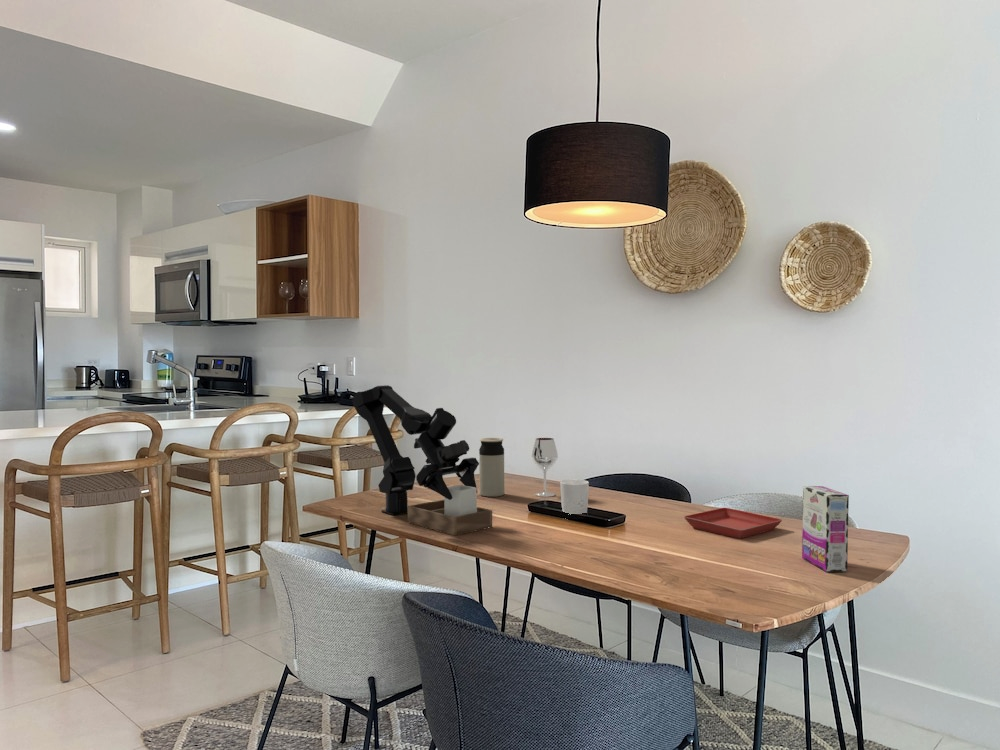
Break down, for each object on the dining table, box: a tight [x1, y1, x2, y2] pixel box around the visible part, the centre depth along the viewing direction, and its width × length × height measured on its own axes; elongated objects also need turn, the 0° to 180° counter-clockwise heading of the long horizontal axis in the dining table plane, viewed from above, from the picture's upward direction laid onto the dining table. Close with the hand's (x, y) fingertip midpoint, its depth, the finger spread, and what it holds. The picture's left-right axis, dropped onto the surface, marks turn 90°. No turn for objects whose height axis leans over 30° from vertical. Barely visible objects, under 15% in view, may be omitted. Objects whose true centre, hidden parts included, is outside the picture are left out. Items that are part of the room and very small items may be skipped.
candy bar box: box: [801, 485, 850, 573], centre depth 165 cm, size 11×5×16 cm, turn 5°
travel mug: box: [478, 437, 505, 498], centre depth 245 cm, size 8×8×18 cm
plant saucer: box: [683, 507, 783, 539], centre depth 199 cm, size 18×18×3 cm
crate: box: [407, 499, 493, 536], centre depth 205 cm, size 20×13×5 cm, turn 42°
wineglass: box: [531, 437, 558, 498], centre depth 244 cm, size 8×8×18 cm
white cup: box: [559, 478, 590, 520], centre depth 212 cm, size 8×8×10 cm
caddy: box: [443, 484, 478, 517], centre depth 201 cm, size 6×6×10 cm
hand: (464, 496), depth 200 cm, fingers open, 9 cm apart
